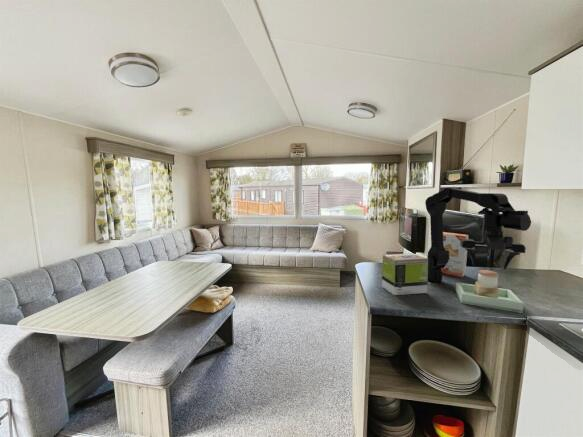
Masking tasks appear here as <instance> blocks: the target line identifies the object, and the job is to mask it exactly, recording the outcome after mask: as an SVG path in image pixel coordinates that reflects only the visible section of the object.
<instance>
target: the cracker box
mask: <svg viewBox="0 0 583 437" xmlns="http://www.w3.org/2000/svg"><path fill="white" fill-rule="evenodd" d="M461 239H469V234H463V233H462V234H461V233H454V232H445V231H443V246H444V248H445V250H446V251H447V250H448V251H449V258H450V259H449V260H448V263H447V264H446V265H445V267H444V268H441V271H442V272H443V273H442V274H445V275H448V276H449V275H450V276H452V277H453V276H454V277H458V278H464V276H465V275H466V272H467V271H466V268H467V258H468V250H466V249H465V248H463V247H461V245H460V241H461Z"/></svg>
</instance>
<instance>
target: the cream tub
mask: <svg viewBox="0 0 583 437" xmlns="http://www.w3.org/2000/svg"><path fill="white" fill-rule="evenodd" d="M498 279H499V273H498V272H496V271H493V270H490V269H489V270H487V269H480V270H479V269H478V272H477V282H478V283H477V284H478V285H479V286H482V287H486V288H498Z"/></svg>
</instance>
